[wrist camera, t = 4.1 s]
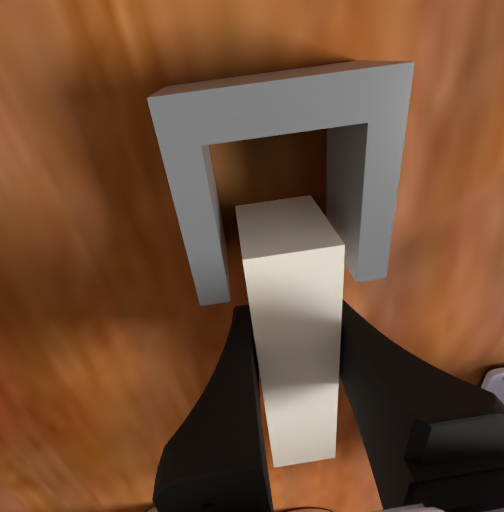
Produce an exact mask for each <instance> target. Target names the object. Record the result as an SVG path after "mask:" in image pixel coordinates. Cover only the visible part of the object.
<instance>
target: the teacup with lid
mask: <svg viewBox="0 0 504 512" xmlns="http://www.w3.org/2000/svg"><path fill="white" fill-rule="evenodd" d="M287 512H331V511H328V510H324V509H297V510H292V511H287Z"/></svg>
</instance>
